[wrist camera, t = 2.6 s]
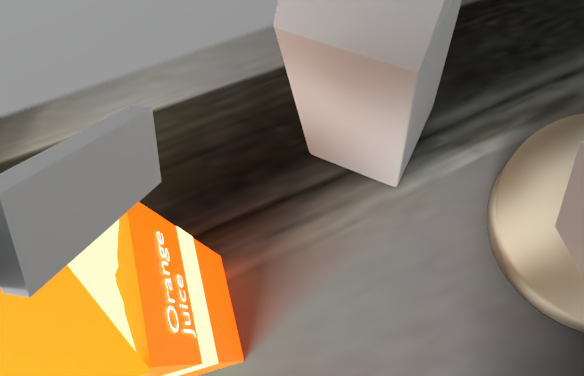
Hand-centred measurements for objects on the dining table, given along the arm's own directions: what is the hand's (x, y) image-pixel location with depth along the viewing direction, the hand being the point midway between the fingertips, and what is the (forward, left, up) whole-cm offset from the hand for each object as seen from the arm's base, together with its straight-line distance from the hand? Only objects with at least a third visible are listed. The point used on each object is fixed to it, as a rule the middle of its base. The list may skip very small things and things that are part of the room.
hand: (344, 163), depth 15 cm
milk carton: (-7, +7, -19) cm, 22 cm away
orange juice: (-4, -13, -19) cm, 23 cm away
